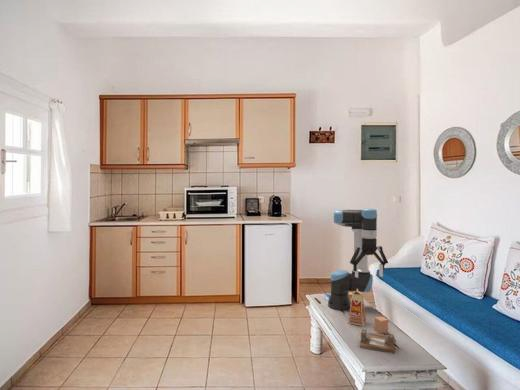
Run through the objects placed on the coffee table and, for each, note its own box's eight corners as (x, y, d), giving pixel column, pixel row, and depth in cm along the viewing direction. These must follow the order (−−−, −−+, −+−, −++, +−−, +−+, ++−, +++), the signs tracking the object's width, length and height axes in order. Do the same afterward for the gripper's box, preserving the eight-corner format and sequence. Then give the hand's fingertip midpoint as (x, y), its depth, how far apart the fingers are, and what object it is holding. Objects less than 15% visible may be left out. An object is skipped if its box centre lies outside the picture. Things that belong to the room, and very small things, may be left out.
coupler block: (374, 330, 188) (374, 317, 188) (381, 328, 190) (381, 316, 190) (380, 333, 184) (381, 321, 183) (388, 332, 186) (388, 319, 185)
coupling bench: (362, 334, 183) (362, 323, 183) (394, 339, 177) (394, 328, 177) (359, 347, 168) (359, 335, 168) (393, 353, 162) (394, 341, 162)
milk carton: (364, 326, 194) (364, 291, 193) (347, 323, 198) (347, 289, 197) (366, 320, 202) (366, 287, 201) (350, 317, 206) (350, 285, 205)
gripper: (349, 239, 175) (348, 279, 176) (394, 238, 178) (394, 278, 179) (344, 236, 183) (343, 275, 184) (388, 235, 185) (387, 274, 186)
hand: (368, 276), depth 181 cm, fingers open, 13 cm apart
